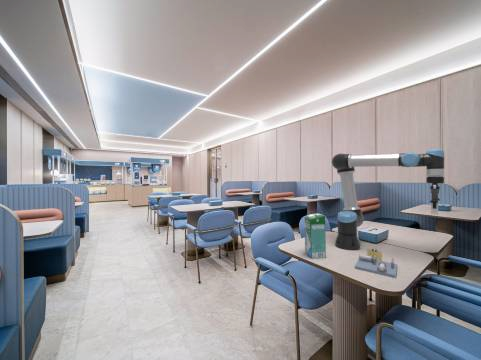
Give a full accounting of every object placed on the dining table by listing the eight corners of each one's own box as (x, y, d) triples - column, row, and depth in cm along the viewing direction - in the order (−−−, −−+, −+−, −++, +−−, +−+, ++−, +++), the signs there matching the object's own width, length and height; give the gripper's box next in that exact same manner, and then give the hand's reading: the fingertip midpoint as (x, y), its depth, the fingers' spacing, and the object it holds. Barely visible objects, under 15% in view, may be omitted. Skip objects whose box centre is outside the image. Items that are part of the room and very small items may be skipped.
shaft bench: (354, 268, 106) (354, 259, 106) (360, 258, 118) (360, 251, 118) (395, 278, 95) (395, 268, 95) (397, 266, 108) (397, 257, 108)
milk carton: (305, 253, 129) (304, 213, 129) (318, 252, 130) (318, 213, 130) (311, 258, 120) (310, 216, 120) (325, 257, 121) (325, 215, 121)
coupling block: (373, 261, 115) (373, 251, 115) (367, 257, 120) (367, 248, 120) (381, 260, 116) (381, 250, 116) (375, 257, 121) (375, 247, 121)
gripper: (444, 176, 107) (443, 216, 108) (444, 176, 125) (443, 210, 125) (425, 176, 113) (424, 214, 113) (427, 176, 130) (427, 209, 131)
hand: (434, 212), depth 119 cm, fingers open, 13 cm apart
